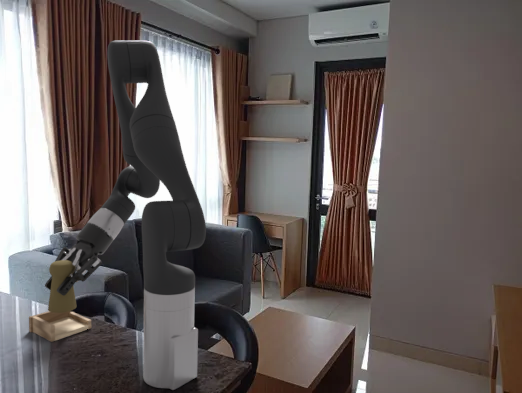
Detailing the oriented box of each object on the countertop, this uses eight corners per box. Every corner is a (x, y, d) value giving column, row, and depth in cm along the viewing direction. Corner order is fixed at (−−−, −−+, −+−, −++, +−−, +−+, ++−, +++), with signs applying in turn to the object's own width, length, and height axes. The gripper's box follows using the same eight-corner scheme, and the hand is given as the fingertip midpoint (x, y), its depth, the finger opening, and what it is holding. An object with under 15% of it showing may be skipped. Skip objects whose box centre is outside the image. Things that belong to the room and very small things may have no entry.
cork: (81, 304, 102) (81, 258, 101) (67, 313, 96) (67, 265, 95) (57, 302, 103) (56, 257, 101) (42, 311, 97) (41, 263, 95)
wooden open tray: (91, 328, 101) (91, 313, 101) (49, 342, 93) (49, 327, 93) (70, 318, 106) (70, 304, 106) (29, 331, 98) (28, 316, 98)
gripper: (74, 218, 107) (25, 275, 99) (109, 225, 99) (59, 289, 91) (93, 235, 112) (49, 292, 104) (128, 244, 104) (83, 306, 96)
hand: (54, 290), depth 97 cm, fingers closed on cork, 4 cm apart
